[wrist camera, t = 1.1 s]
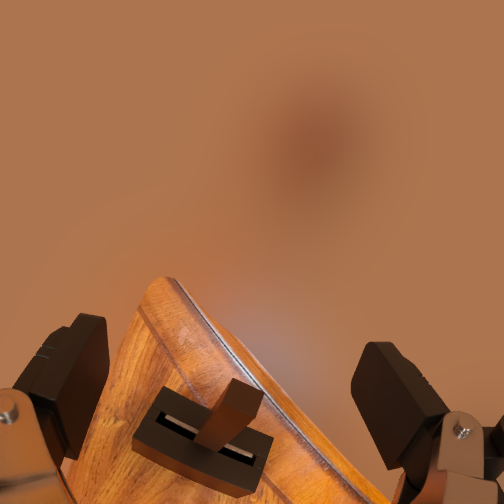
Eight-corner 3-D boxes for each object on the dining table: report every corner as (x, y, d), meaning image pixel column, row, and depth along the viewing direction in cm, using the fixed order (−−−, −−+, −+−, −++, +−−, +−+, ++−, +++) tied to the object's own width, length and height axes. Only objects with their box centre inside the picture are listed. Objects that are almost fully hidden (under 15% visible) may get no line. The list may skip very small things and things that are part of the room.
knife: (228, 476, 26) (298, 435, 17) (154, 442, 26) (176, 379, 17) (235, 460, 27) (305, 409, 18) (163, 426, 28) (190, 355, 19)
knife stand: (237, 498, 24) (255, 493, 21) (131, 449, 25) (132, 436, 22) (255, 450, 29) (274, 437, 26) (158, 404, 29) (163, 385, 26)
